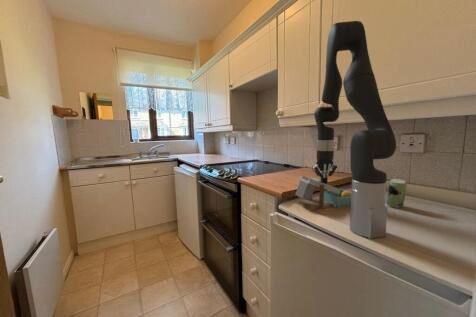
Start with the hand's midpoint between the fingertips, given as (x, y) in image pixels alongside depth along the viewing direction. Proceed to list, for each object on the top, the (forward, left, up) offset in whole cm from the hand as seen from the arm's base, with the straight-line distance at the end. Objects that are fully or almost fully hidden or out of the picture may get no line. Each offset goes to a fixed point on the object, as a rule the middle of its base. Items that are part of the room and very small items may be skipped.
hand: (323, 184), depth 98 cm
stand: (-6, +8, -7) cm, 12 cm away
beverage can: (-18, -23, -7) cm, 30 cm away
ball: (-6, -8, -4) cm, 11 cm away
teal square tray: (-6, -5, -7) cm, 10 cm away
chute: (-3, +9, -6) cm, 11 cm away
